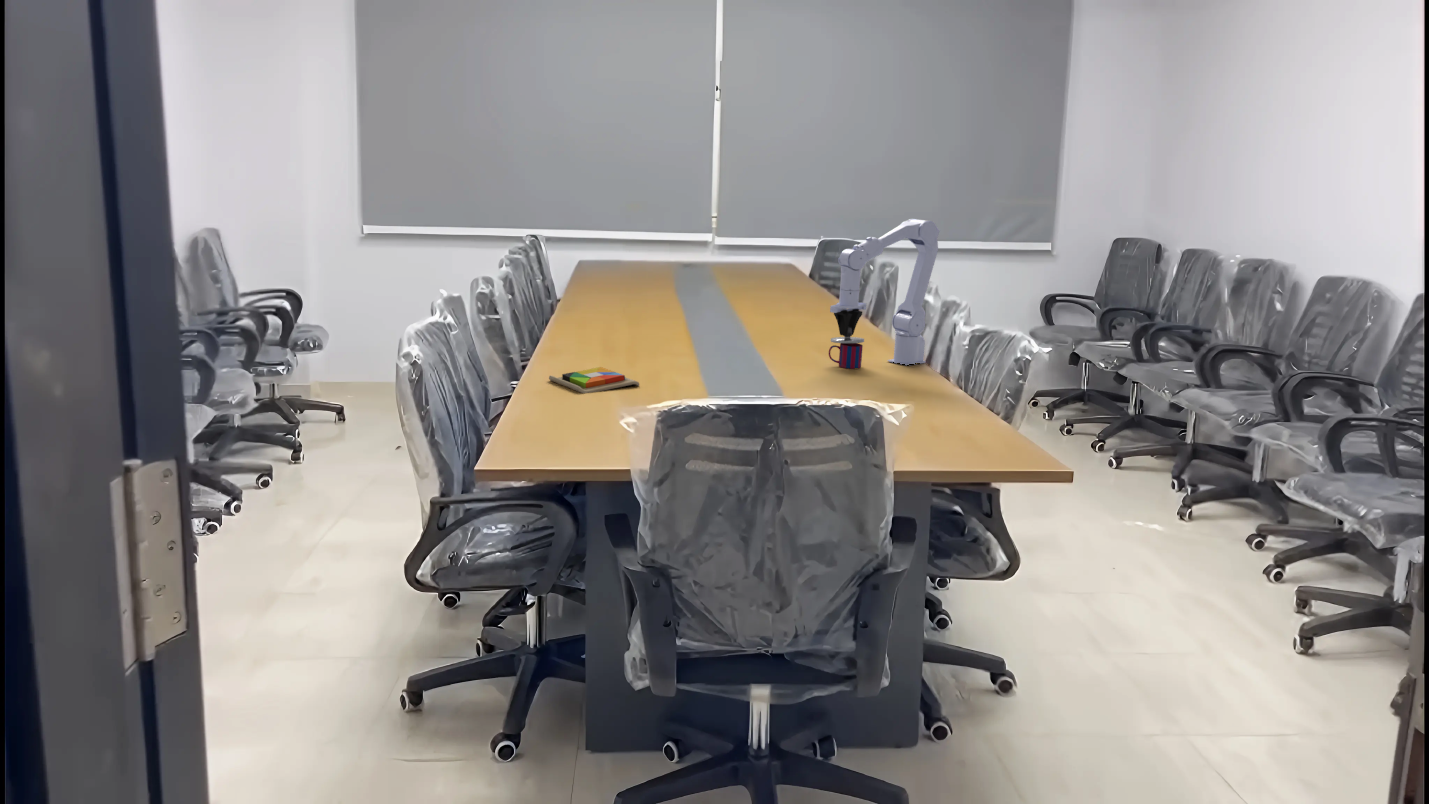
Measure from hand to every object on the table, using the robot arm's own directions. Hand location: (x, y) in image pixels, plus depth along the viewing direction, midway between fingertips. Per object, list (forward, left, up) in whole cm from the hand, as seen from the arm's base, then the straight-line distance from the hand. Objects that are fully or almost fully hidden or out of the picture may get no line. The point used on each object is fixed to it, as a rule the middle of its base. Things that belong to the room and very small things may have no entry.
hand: (846, 334), depth 326 cm
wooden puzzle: (+78, -22, -10) cm, 82 cm away
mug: (0, 0, -10) cm, 10 cm away
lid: (0, 0, -2) cm, 2 cm away
